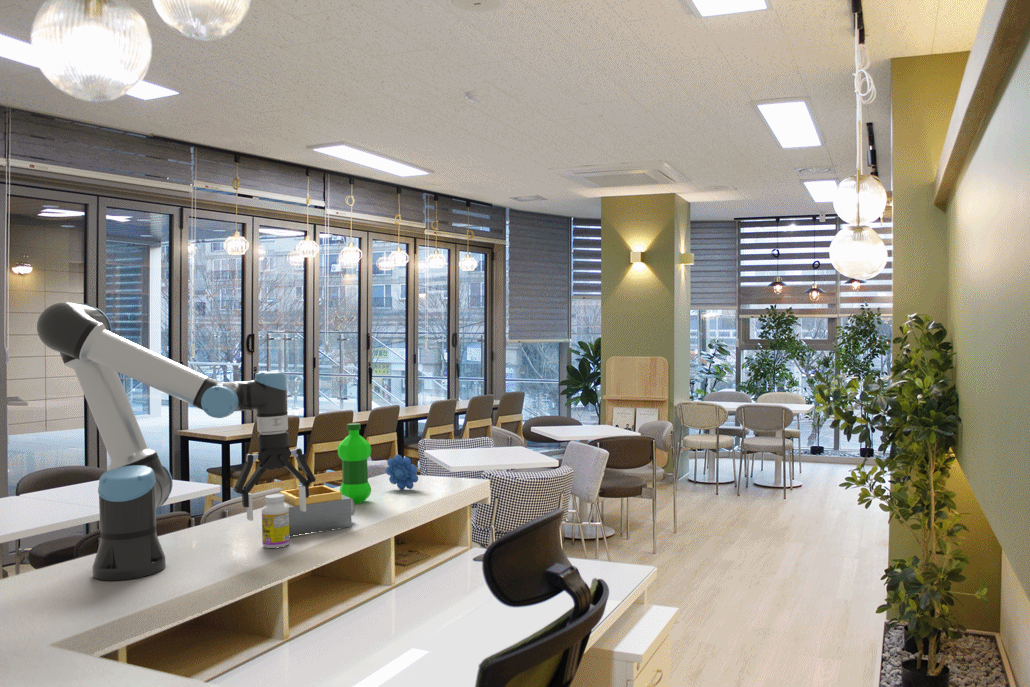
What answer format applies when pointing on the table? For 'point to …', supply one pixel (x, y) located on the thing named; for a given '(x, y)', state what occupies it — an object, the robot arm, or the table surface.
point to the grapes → (402, 472)
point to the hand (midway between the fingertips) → (277, 515)
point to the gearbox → (318, 510)
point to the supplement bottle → (275, 522)
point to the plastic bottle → (355, 465)
